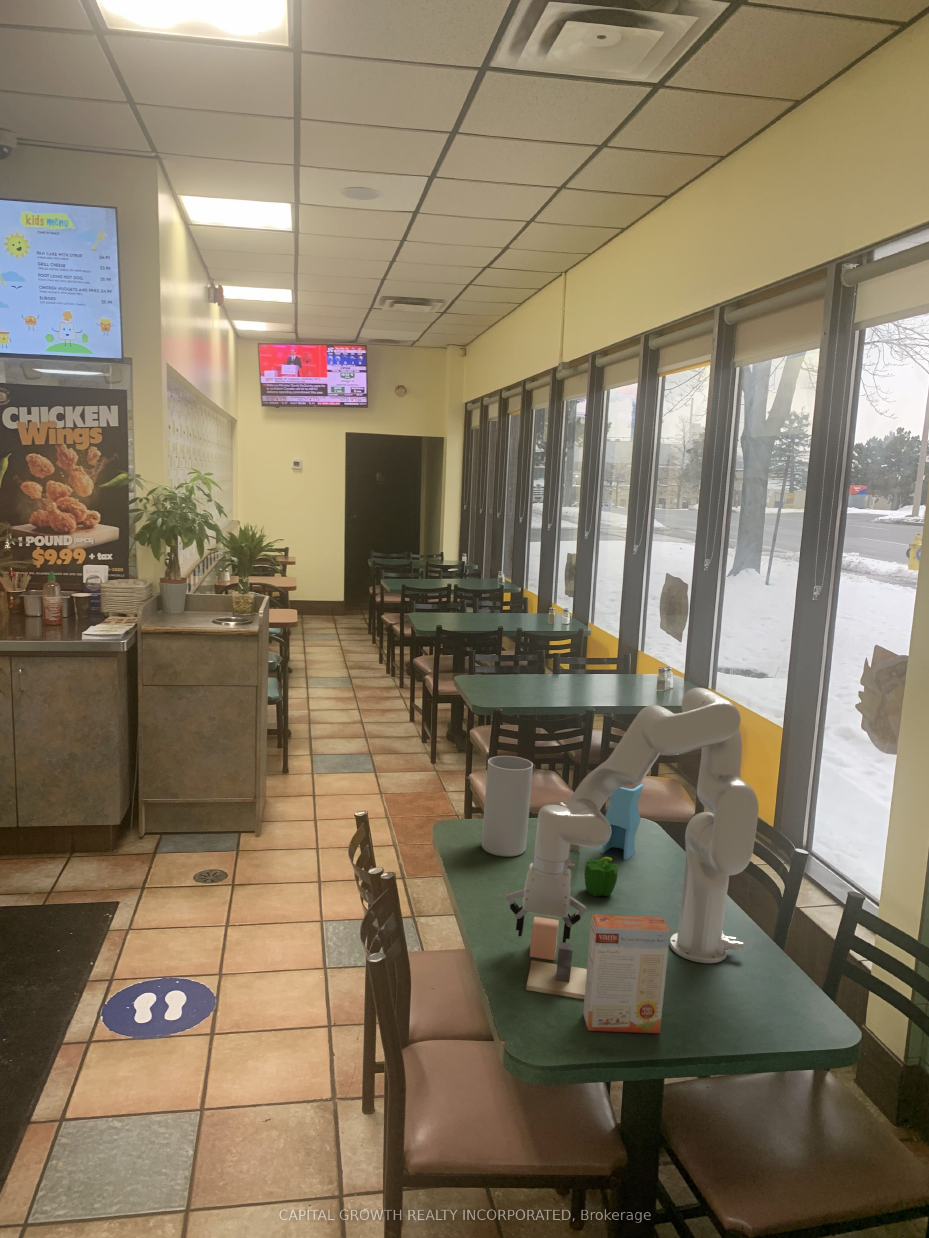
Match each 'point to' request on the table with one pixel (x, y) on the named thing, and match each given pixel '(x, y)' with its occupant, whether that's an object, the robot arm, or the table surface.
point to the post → (558, 975)
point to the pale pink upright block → (544, 938)
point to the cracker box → (626, 973)
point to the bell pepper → (600, 876)
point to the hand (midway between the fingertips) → (542, 937)
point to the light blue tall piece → (623, 820)
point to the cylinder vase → (507, 805)
